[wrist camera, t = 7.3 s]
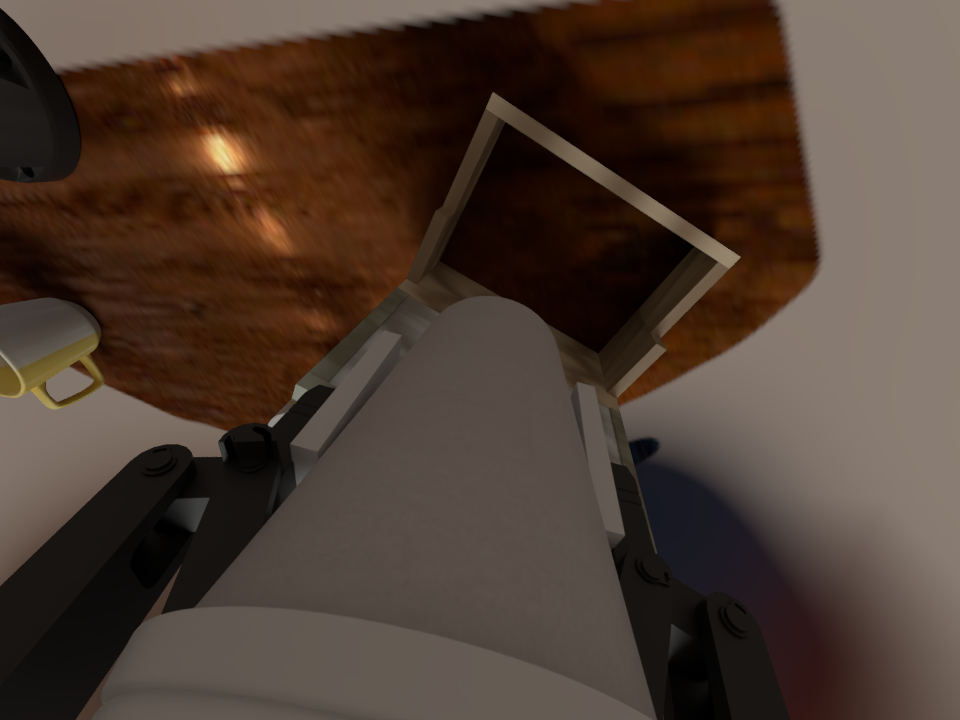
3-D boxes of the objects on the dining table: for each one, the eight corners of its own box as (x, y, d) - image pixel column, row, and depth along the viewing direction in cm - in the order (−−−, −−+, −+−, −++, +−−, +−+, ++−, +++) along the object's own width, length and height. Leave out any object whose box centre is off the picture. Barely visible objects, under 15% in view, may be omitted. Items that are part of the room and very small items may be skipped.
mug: (24, 281, 46) (-102, 315, 37) (89, 285, 44) (-26, 321, 35) (87, 370, 53) (-6, 416, 44) (145, 376, 51) (61, 424, 42)
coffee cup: (370, 268, 16) (-351, 834, 3) (598, 250, 14) (1215, 1445, 1) (416, 431, 20) (221, 900, 8) (588, 432, 19) (689, 1037, 6)
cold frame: (421, 275, 36) (287, 415, 18) (501, 99, 27) (402, 12, 9) (592, 373, 39) (631, 584, 20) (713, 241, 30) (977, 399, 12)
